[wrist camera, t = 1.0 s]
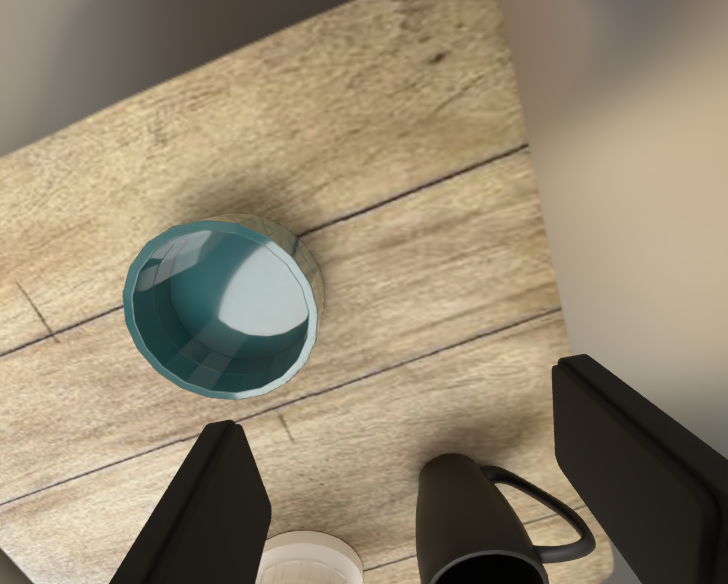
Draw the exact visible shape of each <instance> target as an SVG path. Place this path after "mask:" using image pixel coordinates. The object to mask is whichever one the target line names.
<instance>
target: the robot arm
mask: <svg viewBox="0 0 728 584" xmlns="http://www.w3.org/2000/svg"><path fill="white" fill-rule="evenodd" d="M552 391H553V415H554V440H555V456H556V460H557V462H558V465H559V467H560V469H561V470H562V472H563V473H564V475H565V476H566V477H567V479H568V480H569V482H570V483H571V484H572V486H573V487H574V489H575V490H576V491H577V493H578V494H579V496H580V497H581V498H582V500H583V501H584V503H585V504H586V505H587V507H588V508H589V510H590V511H591V512H592V514H593V515H594V517H595V518H596V520H597V521H598V522H599V524H600V525H601V527H602V528H603V529H604V531H605V532H606V534H607V535H608V536H609V538H610V539H611V541H612V542H613V543H614V545H615V546H616V547H617V549H618V550H619V552H620V553H621V554H622V556H623V557H624V559H625V560H626V562H627V563H628V564H629V566H630V567H631V569H632V570H633V571H634V573H635V574H636V576H637V577H638V579H639V580H640V581H641V583H642V584H728V460H727V459H726V458H725V457H723V456H722V455H721V454H719V453H718V452H717V451H715V450H714V449H712V448H711V447H710V446H709V445H707V444H706V443H705V442H703V441H702V440H701V439H699V438H698V437H697V436H695V435H694V434H693V433H691V432H690V431H689V430H687V429H686V428H685V427H683V426H682V425H681V424H679V423H678V422H677V421H675V420H674V419H673V418H671V417H670V416H669V415H667V414H666V413H664V412H663V411H662V410H661V409H659V408H658V407H657V406H655V405H654V404H653V403H651V402H650V401H649V400H647V399H646V398H645V397H643V396H642V395H641V394H639V393H638V392H637V391H635V390H634V389H633V388H631V387H630V386H629V385H627V384H626V383H625V382H623V381H622V380H621V379H619V378H618V377H617V376H615V375H614V374H613V373H611V372H610V371H609V370H607V369H606V368H605V367H603V366H602V365H601V364H599V363H598V362H597V361H595V360H594V359H592V358H591V357H590V356H588V355H586V354H581V355H575V356H570V357H564V358H560V359H559V361H558V365H555V366H553V367H552ZM271 514H272V513H271V504H270V501H269V498H268V495H267V493H266V490H265V487H264V485H263V482H262V479H261V476H260V474H259V471H258V468H257V465H256V463H255V460H254V457H253V454H252V452H251V449H250V446H249V444H248V441H247V438H246V435H245V433H244V430H243V428H242V426H241V425H240V424H235V422H234V421H233V420H225V421H220V422H215V423H210V424H207V425H206V426H205V428H204V429H203V431H202V433H201V434H200V436H199V437H198V439H197V441H196V442H195V444H194V446H193V447H192V449H191V450H190V452H189V454H188V455H187V457H186V459H185V460H184V462H183V464H182V465H181V467H180V468H179V470H178V472H177V473H176V475H175V477H174V478H173V480H172V482H171V483H170V485H169V486H168V488H167V490H166V491H165V493H164V495H163V496H162V498H161V499H160V501H159V503H158V504H157V506H156V508H155V509H154V511H153V513H152V514H151V516H150V517H149V519H148V521H147V522H146V524H145V526H144V527H143V529H142V530H141V532H140V534H139V535H138V537H137V539H136V540H135V542H134V544H133V545H132V547H131V548H130V550H129V552H128V553H127V555H126V557H125V558H124V560H123V561H122V563H121V565H120V566H119V568H118V570H117V571H116V573H115V575H114V576H113V578H112V579H111V581H110V583H109V584H255V582H256V578H257V574H258V570H259V566H260V562H261V558H262V554H263V550H264V546H265V542H266V538H267V534H268V530H269V526H270V522H271Z"/></svg>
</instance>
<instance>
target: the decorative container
mask: <svg viewBox="0 0 728 584" xmlns="http://www.w3.org/2000/svg"><path fill="white" fill-rule="evenodd" d="M255 584H363V566H362V564H361V561H360V559H359V556H358V555H357V554H356V552H355V551H354V550H353V549H352V548H351V547H350V546H349V545H348V544H346V543H345V542H343V541H342V540H340V539H339V538H336V537H334V536H331V535H328V534H326V533H321V532H315V531H292V532H287V533H283V534H279V535H277V536H274V537H272V538H270V539H268V540H266V542H265V546H264V550H263V554H262V558H261V562H260V566H259V570H258V574H257V578H256V582H255Z"/></svg>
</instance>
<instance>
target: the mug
mask: <svg viewBox="0 0 728 584" xmlns="http://www.w3.org/2000/svg"><path fill="white" fill-rule="evenodd" d="M496 483H502V484H507V485H510V486H512V487H514V488H517V489H519V490H520V491H522V492H524V493H526V494H528V495H529V496H531V497H533V498H534V499H536V500H538V501H539V502H541V503H542V504H544V505H545V506H547V507H548V508H550V509H551V510H553V511H554V512H556V513H557V514H558V515H560V516H561V517H562V518H564V519H565V520H566V521H567V522H568V523H569V524H570V525H571V526H572V527H573V528H574V529H575V530H576V531H577V533H578V534H579V535H580V537H581V539H580V540H578V541H577V542H574V543H571V544H567V545H561V546H536V545H533V544H532V542H531V540H530V538H529V536H528V534H527V532H526V530H525V528H524V526H523V524H522V522H521V521H520V519H519V518H518V516H517V514H516V513H515V511H514V510H513V508H512V507H511V505H510V504H509V502H508V501H507V500H506V498H505V497H504V496H503V494H502V493H501V492H500V491H499V489H498V488H497V487H496V486H495V485H494V484H496ZM595 547H596V542H595V539H594V537H593V534H592V532H591V531H590V529H589V528H588V526H587V525H586V523H585V522H584V521H583V519H582V518H581V517H580V516H579V515H578V514H577V513H576V512H575V511H574V510H572V509H571V508H570V507H568V506H567V505H566V504H564V503H563V502H561V501H560V500H558V499H557V498H555V497H553V496H552V495H550V494H548V493H547V492H545V491H543V490H542V489H540V488H538V487H537V486H535V485H533V484H531V483H530V482H528V481H526V480H525V479H523V478H521V477H519V476H517V475H516V474H514V473H512V472H510V471H508V470H506V469H503V468H501V467H497V466H492V465H486V466H482V467H480V468H479V466H478V465H477V464H476V463H475V462H474V461H473V460H472V459H470V458H469V457H467V456H464V455H461V454H445V455H441V456H438V457H436V458H434V459H433V460H431V461H430V462H428V463H427V465H426V466H425V467H424V468H423V470H422V472H421V475H420V483H419V491H418V498H417V507H416V552H417V560H418V567H419V573H420V579H421V584H549V580H548V574H547V572H546V570H545V568H544V566H543V564H542V563H558V562H565V561H571V560H575V559H579V558H582V557H584V556H587V555H588V554H590V553H591V552H592V551H594V549H595Z"/></svg>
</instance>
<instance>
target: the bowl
mask: <svg viewBox="0 0 728 584" xmlns="http://www.w3.org/2000/svg"><path fill="white" fill-rule="evenodd" d="M123 304H124V313H125V322H126V325H127V328H128V330H129V332H130V334H131V336H132V339H133V341H134V343H135V345H136V347H137V349H138V351H139V352H140V353H141V354H142V355H143V356H144V357H145V359H146V360H147V361H148V362H149V363H150V364H151V366H152V367H153V368H154V369H155V370H156V371H158V373H159V374H161V375H162V376H164V377H165V378H167V379H168V380H170V381H171V382H173V383H174V384H176V385H177V386H179V387H180V388H182V389H185V390H188V391H191V392H194V393H196V394H199V395H202V396H205V397H208V398H217V399H230V400H237V399H238V400H240V399H245V398H250V397H255V396H260V395H264V394H267V393H268V392H270V391H272V390H274V389H276V388H278V387H280V386H282V385H283V384H285V383H287V382H288V381H289V380H290V379H291V378H292V377H293V376H294V375H295V374H296V373H297V372H298V371H299V370H300V369H301V368H302V367H303V366H304V365H305V363H306V362H307V359H308V357H309V355H310V353H311V350H312V348H313V346H314V344H315V341H316V338H317V334H318V330H319V326H320V322H321V318H322V314H323V304H324V285H323V279H322V276H321V272H320V269H319V267H318V264H317V262H316V260H315V259H314V257H313V255H312V253H311V252H310V250H309V249H308V248H307V247H306V245H305V244H304V243H303V242H302V241H301V240H300V239H299V238H298V237H297V236H296V235H295V234H294V233H292V232H291V231H290V230H288V229H287V228H285V227H284V226H282V225H280V224H279V223H277V222H274V221H272V220H270V219H267V218H264V217H261V216H258V215H252V214H244V213H227V214H223V215H218V216H214V217H209V218H205V219H201V220H197V221H193V222H189V223H185V224H181V225H177V226H174V227H171V228H169V229H168V230H166V231H165V232H163V233H162V234H160V235H158V236H157V237H155V238H154V239H152V240H151V241H149V242H148V243H147V244H146V245H145V246H144V248H143V249H142V250H141V252H140V253H139V254H138V256H137V257H136V259H135V260H134V261H133V263H132V264H131V265H130V268H129V271H128V275H127V279H126V283H125V287H124V291H123Z"/></svg>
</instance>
